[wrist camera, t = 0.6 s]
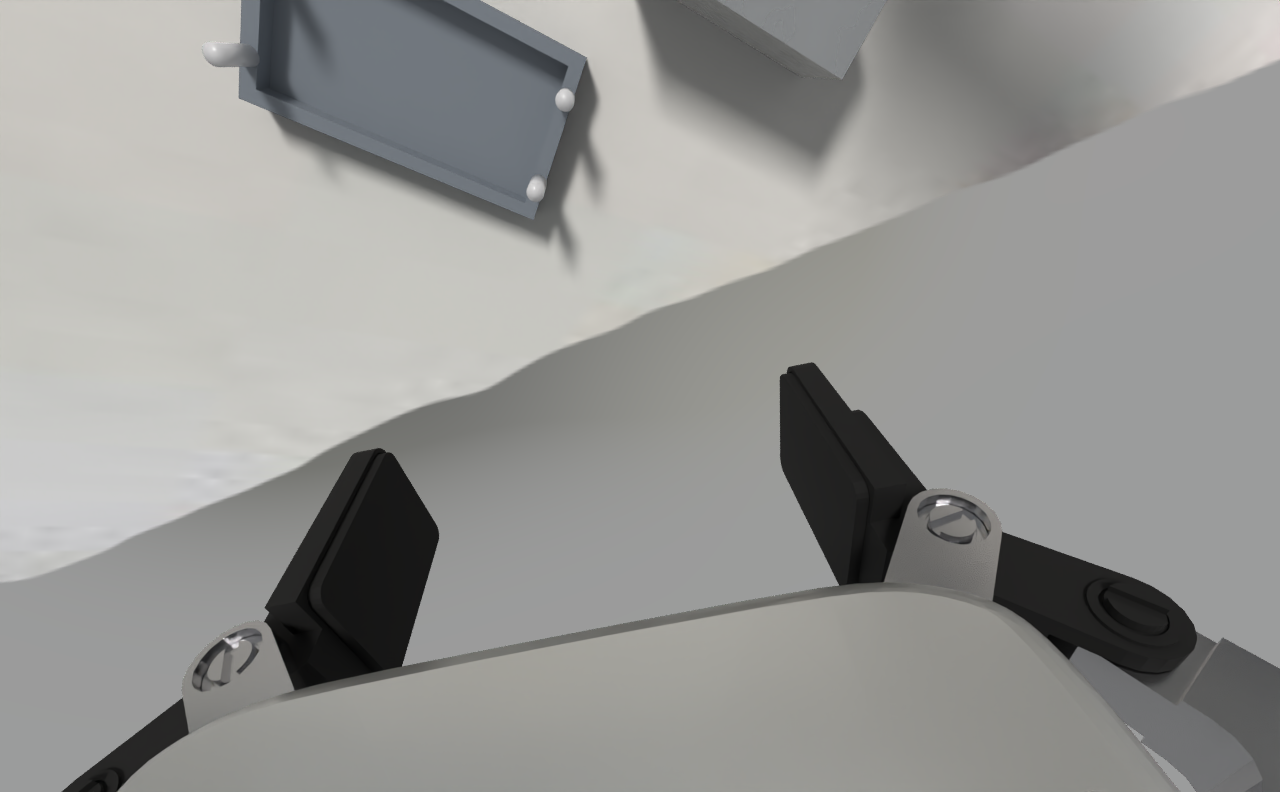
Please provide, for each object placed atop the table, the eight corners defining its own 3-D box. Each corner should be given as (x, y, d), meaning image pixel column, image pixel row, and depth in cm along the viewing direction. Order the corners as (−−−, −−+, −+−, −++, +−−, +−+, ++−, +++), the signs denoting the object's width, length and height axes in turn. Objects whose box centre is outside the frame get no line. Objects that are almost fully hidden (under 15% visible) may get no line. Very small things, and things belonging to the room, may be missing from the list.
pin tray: (267, -113, 24) (201, -151, 20) (587, 58, 30) (589, 57, 25) (258, 95, 29) (202, 100, 25) (537, 212, 34) (531, 233, 30)
